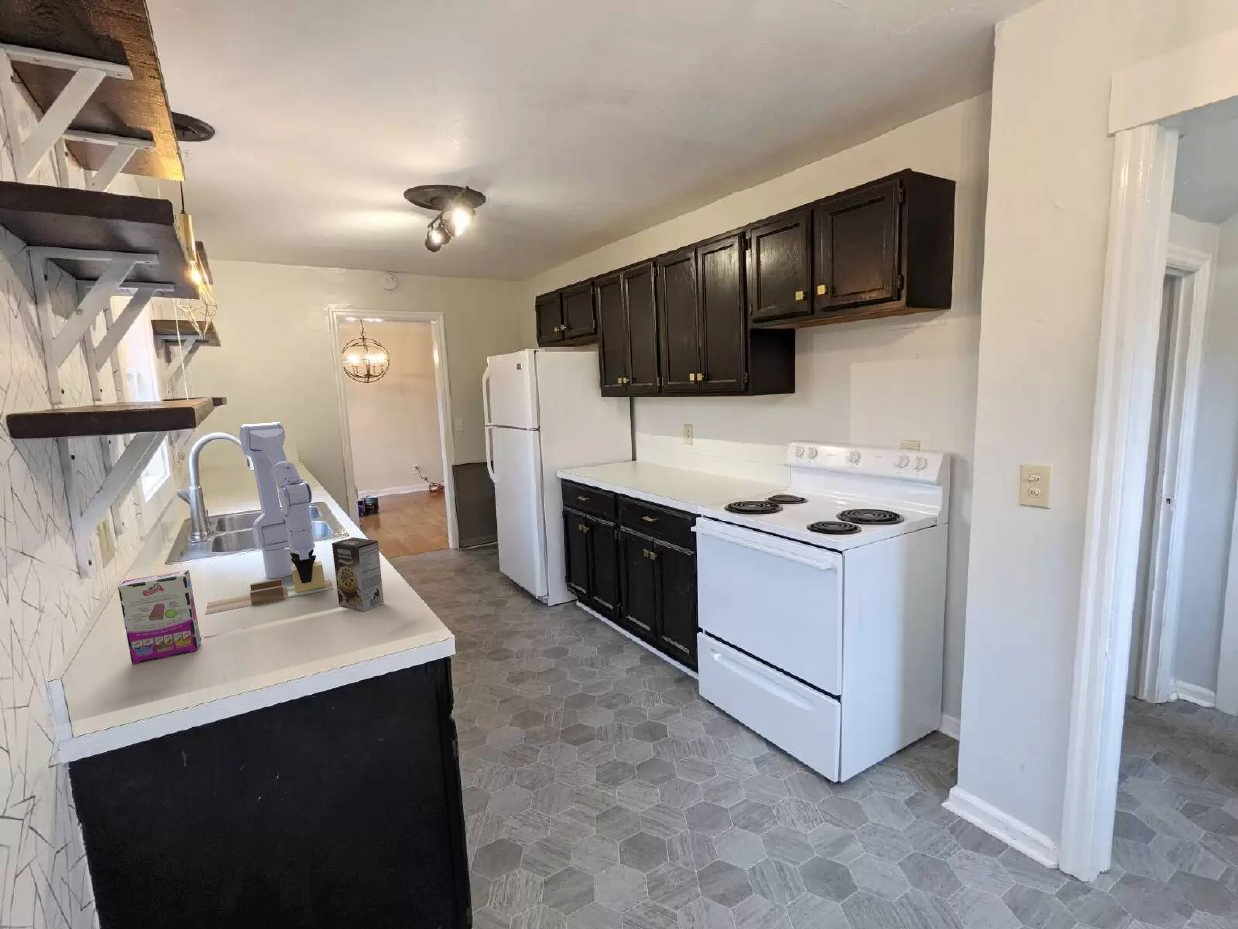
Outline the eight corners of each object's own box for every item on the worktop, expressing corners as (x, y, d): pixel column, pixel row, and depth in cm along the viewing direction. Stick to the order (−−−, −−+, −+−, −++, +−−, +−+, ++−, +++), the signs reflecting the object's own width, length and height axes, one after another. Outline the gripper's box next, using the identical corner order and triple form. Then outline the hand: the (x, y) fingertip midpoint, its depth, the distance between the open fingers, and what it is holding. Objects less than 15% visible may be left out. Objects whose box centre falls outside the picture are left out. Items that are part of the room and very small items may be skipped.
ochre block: (294, 588, 159) (291, 566, 158) (323, 581, 162) (320, 560, 161) (295, 593, 155) (292, 570, 154) (325, 586, 158) (322, 564, 158)
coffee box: (337, 607, 146) (330, 543, 144) (360, 598, 152) (353, 536, 149) (363, 612, 142) (356, 546, 140) (385, 603, 147) (378, 539, 145)
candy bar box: (201, 642, 129) (190, 569, 126) (198, 651, 124) (186, 575, 122) (136, 655, 124) (123, 579, 121) (130, 665, 119) (116, 586, 117)
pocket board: (208, 605, 151) (206, 591, 151) (330, 582, 166) (328, 568, 165) (205, 618, 143) (203, 602, 142) (334, 592, 157) (332, 578, 157)
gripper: (280, 526, 160) (287, 575, 162) (283, 537, 148) (290, 590, 150) (310, 522, 164) (316, 570, 166) (315, 532, 151) (321, 584, 153)
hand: (305, 579), depth 158 cm, fingers open, 5 cm apart
